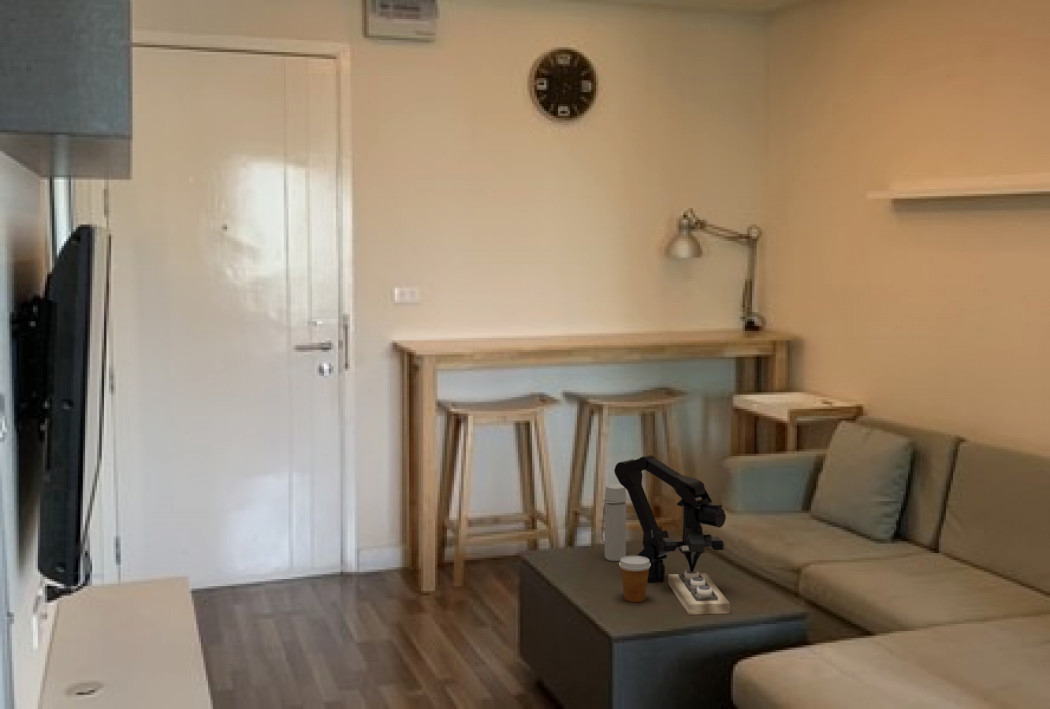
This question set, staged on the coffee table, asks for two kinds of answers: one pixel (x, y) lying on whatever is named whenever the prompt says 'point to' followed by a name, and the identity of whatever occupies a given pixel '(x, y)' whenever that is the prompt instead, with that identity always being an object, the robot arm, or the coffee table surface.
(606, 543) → the water bottle
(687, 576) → the back knob
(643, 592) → the disposable coffee cup
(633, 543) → the coffee table surface
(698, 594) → the front knob
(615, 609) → the coffee table surface
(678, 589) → the knob console
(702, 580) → the middle knob
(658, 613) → the coffee table surface
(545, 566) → the coffee table surface
